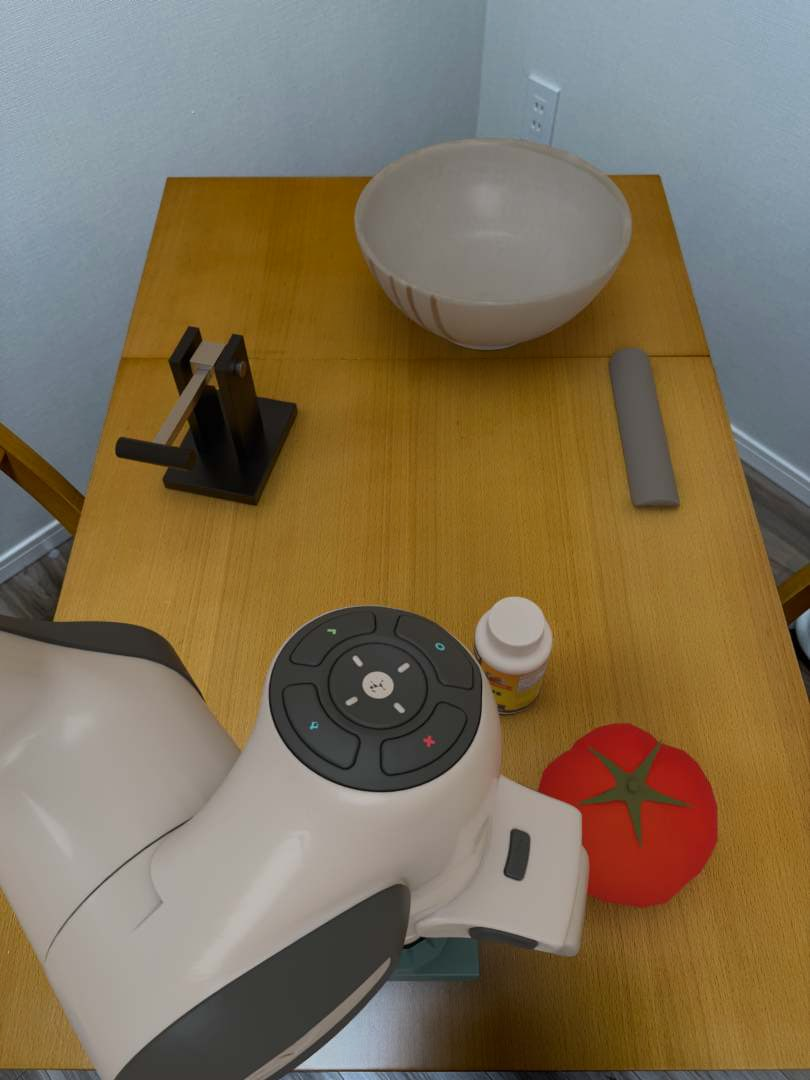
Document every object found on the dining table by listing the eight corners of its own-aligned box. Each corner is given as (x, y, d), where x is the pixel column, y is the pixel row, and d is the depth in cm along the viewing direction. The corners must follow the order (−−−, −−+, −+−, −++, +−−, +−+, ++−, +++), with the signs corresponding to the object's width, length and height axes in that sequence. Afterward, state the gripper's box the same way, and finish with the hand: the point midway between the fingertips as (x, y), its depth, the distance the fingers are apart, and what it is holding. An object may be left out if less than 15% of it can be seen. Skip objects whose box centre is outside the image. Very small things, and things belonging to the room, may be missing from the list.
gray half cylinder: (649, 360, 88) (653, 347, 86) (681, 512, 77) (686, 500, 75) (607, 360, 88) (610, 347, 87) (633, 512, 77) (637, 499, 75)
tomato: (678, 756, 64) (718, 697, 55) (710, 921, 57) (761, 883, 49) (518, 757, 64) (533, 699, 55) (531, 922, 57) (551, 885, 49)
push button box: (323, 981, 55) (317, 971, 52) (329, 869, 59) (323, 853, 56) (477, 980, 55) (481, 970, 52) (473, 868, 59) (476, 852, 56)
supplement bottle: (456, 671, 68) (461, 605, 60) (516, 641, 69) (529, 573, 61) (492, 729, 65) (503, 669, 57) (554, 697, 67) (573, 634, 58)
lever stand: (256, 506, 78) (230, 407, 67) (164, 488, 79) (125, 388, 69) (298, 412, 85) (280, 309, 74) (213, 397, 86) (184, 293, 75)
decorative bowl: (349, 396, 86) (339, 299, 76) (372, 233, 101) (366, 134, 91) (620, 405, 84) (646, 307, 74) (601, 238, 100) (620, 138, 90)
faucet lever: (190, 479, 66) (184, 457, 64) (119, 465, 67) (111, 443, 65) (251, 369, 74) (247, 347, 72) (187, 358, 75) (181, 336, 73)
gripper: (162, 842, 40) (220, 906, 52) (599, 959, 37) (558, 1000, 48) (212, 719, 44) (256, 805, 55) (615, 816, 40) (574, 886, 52)
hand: (400, 897), depth 52 cm, fingers closed
